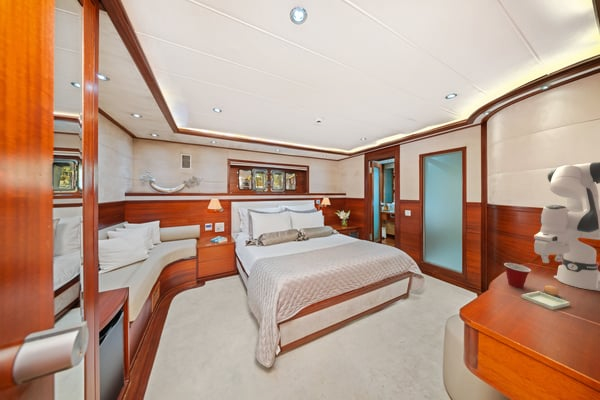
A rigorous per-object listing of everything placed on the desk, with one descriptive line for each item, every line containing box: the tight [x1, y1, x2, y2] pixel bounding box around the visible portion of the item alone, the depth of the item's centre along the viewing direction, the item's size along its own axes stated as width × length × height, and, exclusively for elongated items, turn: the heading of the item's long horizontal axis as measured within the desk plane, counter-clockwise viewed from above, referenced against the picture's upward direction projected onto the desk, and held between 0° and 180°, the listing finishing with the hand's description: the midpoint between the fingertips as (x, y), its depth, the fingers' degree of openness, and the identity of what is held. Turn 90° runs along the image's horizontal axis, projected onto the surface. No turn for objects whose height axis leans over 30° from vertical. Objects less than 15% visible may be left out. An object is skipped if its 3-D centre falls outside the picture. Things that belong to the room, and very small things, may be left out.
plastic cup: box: [503, 262, 532, 289], centre depth 116 cm, size 11×11×12 cm
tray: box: [520, 290, 571, 311], centre depth 100 cm, size 13×11×2 cm
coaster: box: [541, 290, 566, 300], centre depth 106 cm, size 7×7×1 cm
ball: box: [543, 285, 560, 296], centre depth 106 cm, size 5×5×5 cm
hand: (551, 262), depth 105 cm, fingers open, 8 cm apart
